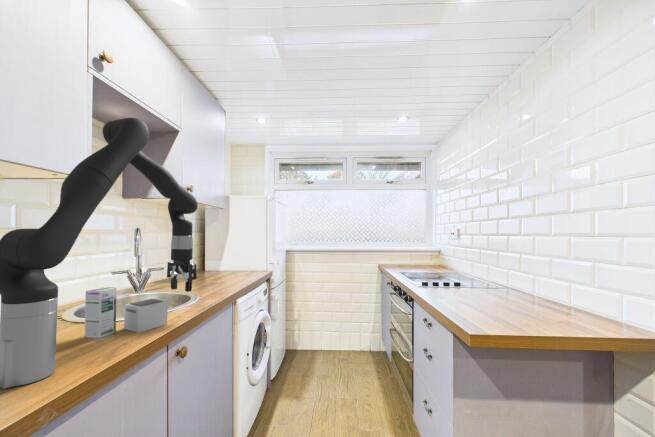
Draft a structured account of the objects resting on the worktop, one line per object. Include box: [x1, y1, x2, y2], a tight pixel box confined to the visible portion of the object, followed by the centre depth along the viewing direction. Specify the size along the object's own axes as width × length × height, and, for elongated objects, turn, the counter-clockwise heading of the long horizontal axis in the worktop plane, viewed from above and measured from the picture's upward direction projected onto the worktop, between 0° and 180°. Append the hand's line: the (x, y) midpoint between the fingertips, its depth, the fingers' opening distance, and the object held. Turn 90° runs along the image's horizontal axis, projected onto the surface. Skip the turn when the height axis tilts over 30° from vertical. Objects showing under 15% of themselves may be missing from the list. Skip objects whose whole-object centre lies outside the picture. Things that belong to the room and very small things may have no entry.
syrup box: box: [84, 286, 117, 339], centre depth 96 cm, size 6×6×14 cm
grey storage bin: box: [123, 298, 168, 334], centre depth 104 cm, size 10×8×8 cm
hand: (181, 290), depth 116 cm, fingers open, 8 cm apart
